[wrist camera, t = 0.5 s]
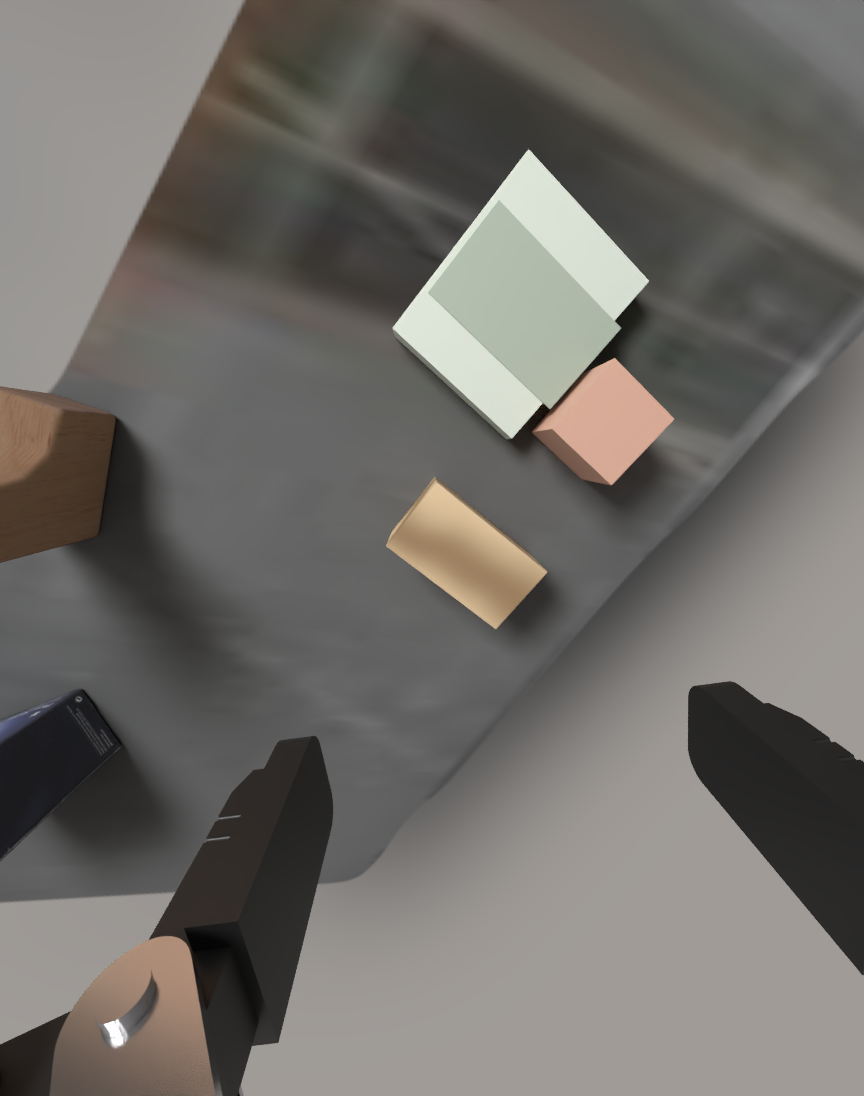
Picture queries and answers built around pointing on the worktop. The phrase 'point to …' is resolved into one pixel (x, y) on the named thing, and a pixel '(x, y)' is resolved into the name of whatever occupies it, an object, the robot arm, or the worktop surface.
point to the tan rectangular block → (465, 554)
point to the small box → (47, 760)
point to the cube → (602, 423)
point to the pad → (521, 300)
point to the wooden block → (50, 471)
